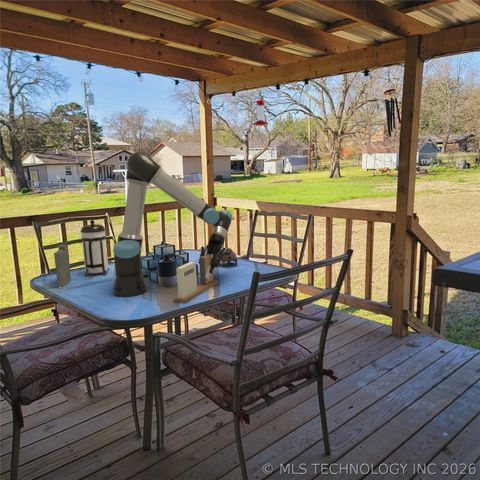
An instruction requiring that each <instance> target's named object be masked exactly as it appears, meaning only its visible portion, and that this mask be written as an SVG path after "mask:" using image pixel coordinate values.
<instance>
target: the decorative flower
mask: <svg viewBox="0 0 480 480" xmlns="http://www.w3.org/2000/svg"><path fill="white" fill-rule="evenodd" d="M224 248H225V249H226V251H227V252H226V253H225V254H224V256H223V258H222V260H221V262H220V266H221V268H223V267H224V266H226V265H227V264H228V263H232V262H234V265H235V266H237V265H238V257H237V255H236V253H235V252H234V251H233V250H232V248H230V247H228V248H227V247H224ZM219 253H220V252H218V255H219ZM217 257H218V256H217Z"/></svg>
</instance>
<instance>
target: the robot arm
mask: <svg viewBox="0 0 480 480" xmlns="http://www.w3.org/2000/svg"><path fill="white" fill-rule="evenodd" d="M126 164H127V166H126V167H127V170H126V174H125V175H126V177H125V180H126V181H127V182H128V187H127V193H126V194H127V195H126V202H125V210H124V215H123V223H122V231H121V233H118V237H117V242H115V243H114V244H113V249H112V253H113V258H114V270H115V280H114V284H113V289H112V292H113V293H112V294H113V295H114V296H117V297H126V298H127V297H134V296H139V295H142V294H145V293H146V292H147V291H148V285H147V283H146V280H145V278H144V275H143V272H142V271H143V270H142V268H143V267H142V257H141V255H142V247H143V236H142V235H141V233H142V232H141V231H142V224H143V218H144V209H145V202H146V197H147V196H146V195H147V189H148V186H149V185H151V184H152V185H154V186H155V187H156V188H158V189H160V190H161V191H162V192H163V193H165V194H166V195H168V196H169V197H170V198H172V199H173V200H174V201H175V202H177V203H178V204H180V205H181V206H183V207H184V208H185V209H187V210H188V211H190V212H191V213H192V214H193V215H194V216H195V217H197V218H198V219H200V220H202V221H203V222H204V223H206V225H212V226H213V228H212V231H211V233H210V236H209V239H208V244H206V246H201V247H200V255H199V258H200V257H203V256H205V255H207V254H210V255H212V262H211V265H209V267H208V270H207V273H206V276H205V278H206V279H207V280H209V277H210V274H211V273H214V269H215V268H219V267H220V266H221V263H222V261H221V260H222V258H223V256H224V254H225V253H226V252H227V251H226V249H225V248H226V247H223V246H224V244H225V241H226V238H227V235H228V232H229V229H230V226H231V224H232V221H233V213H232V212H231V211H230V210H227V209H220V210H217V209H216V208H214V207H212V206H211V205H209V204H208V203H207V202H206V201H205V200H203V199H202V198H200V197H199V196H198V195H196V194H195V193H194V192H192V191H191V190H189V189H188V188H187V187H186V186H184V185H183V184H182V183H181V182H179V181H178V180H177V179H175V178H173V176H171V175H170V174H169V173H167V172H165V170H163V168H162V166H161V165H160V164H158V163H157V162H156V161H155V160H154V159H153V158H152V157H151V156H150V155H149V154H148V153H146V152H144V151H136V152H135V151H134V152H133V153H131V155H130V156H128V158H127V163H126ZM218 252H220V253H219V255H218ZM217 256H218V257H217ZM198 264H199V265H200V263H199V261H198ZM198 278H199V279H200V273H199V275H198Z"/></svg>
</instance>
